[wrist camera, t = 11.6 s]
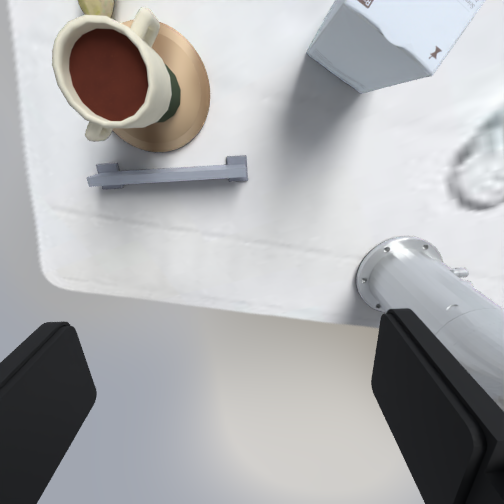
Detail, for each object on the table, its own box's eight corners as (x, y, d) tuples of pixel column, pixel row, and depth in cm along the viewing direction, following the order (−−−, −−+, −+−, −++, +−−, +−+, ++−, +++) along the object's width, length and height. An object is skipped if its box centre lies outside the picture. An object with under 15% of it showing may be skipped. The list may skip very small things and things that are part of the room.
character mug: (146, 20, 30) (85, -48, 18) (206, 67, 32) (186, 33, 20) (103, 116, 33) (27, 112, 21) (159, 153, 35) (118, 169, 23)
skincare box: (392, 45, 32) (505, -13, 18) (358, 97, 34) (437, 80, 20) (332, -6, 30) (409, -112, 16) (300, 53, 32) (344, 2, 18)
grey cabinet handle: (246, 155, 36) (247, 158, 32) (247, 179, 37) (248, 185, 34) (98, 164, 36) (82, 168, 32) (104, 188, 37) (89, 195, 33)
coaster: (202, 17, 30) (202, 15, 30) (215, 148, 36) (215, 148, 35) (78, 24, 30) (75, 22, 30) (110, 154, 35) (107, 155, 35)
